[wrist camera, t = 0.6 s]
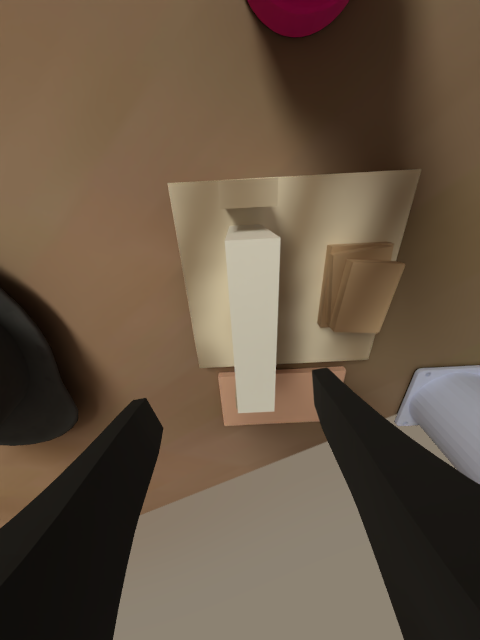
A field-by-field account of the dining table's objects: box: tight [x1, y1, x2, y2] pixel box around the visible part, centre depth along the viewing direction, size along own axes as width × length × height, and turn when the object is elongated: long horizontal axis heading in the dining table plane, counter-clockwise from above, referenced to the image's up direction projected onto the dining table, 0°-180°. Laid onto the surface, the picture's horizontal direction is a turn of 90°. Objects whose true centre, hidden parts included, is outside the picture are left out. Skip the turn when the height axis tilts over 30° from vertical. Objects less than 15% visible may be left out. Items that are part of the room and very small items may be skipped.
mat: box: [218, 366, 346, 426], centre depth 22 cm, size 12×7×1 cm, turn 93°
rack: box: [168, 169, 422, 409], centre depth 14 cm, size 15×14×6 cm
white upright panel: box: [225, 224, 281, 413], centre depth 13 cm, size 2×9×7 cm, turn 3°
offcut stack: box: [317, 242, 406, 333], centre depth 15 cm, size 4×6×2 cm
